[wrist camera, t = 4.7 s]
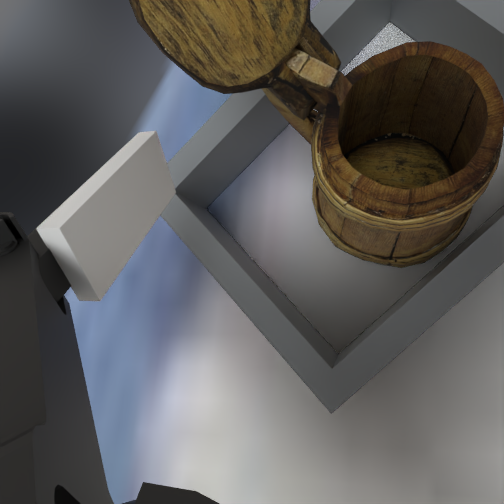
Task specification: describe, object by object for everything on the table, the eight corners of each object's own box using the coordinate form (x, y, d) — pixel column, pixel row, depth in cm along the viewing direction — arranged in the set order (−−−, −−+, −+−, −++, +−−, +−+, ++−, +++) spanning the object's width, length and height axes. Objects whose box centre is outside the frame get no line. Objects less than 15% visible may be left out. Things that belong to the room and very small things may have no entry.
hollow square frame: (390, -10, 26) (395, -79, 21) (608, 150, 22) (677, 109, 17) (177, 209, 28) (140, 191, 24) (337, 389, 24) (331, 413, 19)
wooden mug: (305, 73, 27) (200, -324, 10) (503, 166, 23) (918, -215, 6) (235, 187, 27) (16, 4, 10) (417, 296, 24) (564, 301, 6)
